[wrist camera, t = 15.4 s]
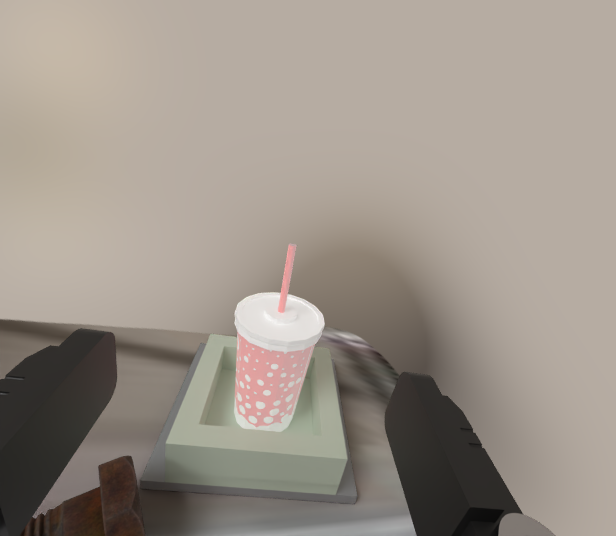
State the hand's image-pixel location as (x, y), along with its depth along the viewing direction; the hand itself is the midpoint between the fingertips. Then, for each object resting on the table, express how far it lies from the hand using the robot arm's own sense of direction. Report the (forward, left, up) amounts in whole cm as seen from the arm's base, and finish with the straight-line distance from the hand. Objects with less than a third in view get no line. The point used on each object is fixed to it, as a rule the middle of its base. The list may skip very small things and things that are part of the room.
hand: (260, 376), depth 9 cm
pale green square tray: (+1, +13, -16) cm, 21 cm away
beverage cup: (+1, +12, -14) cm, 18 cm away
